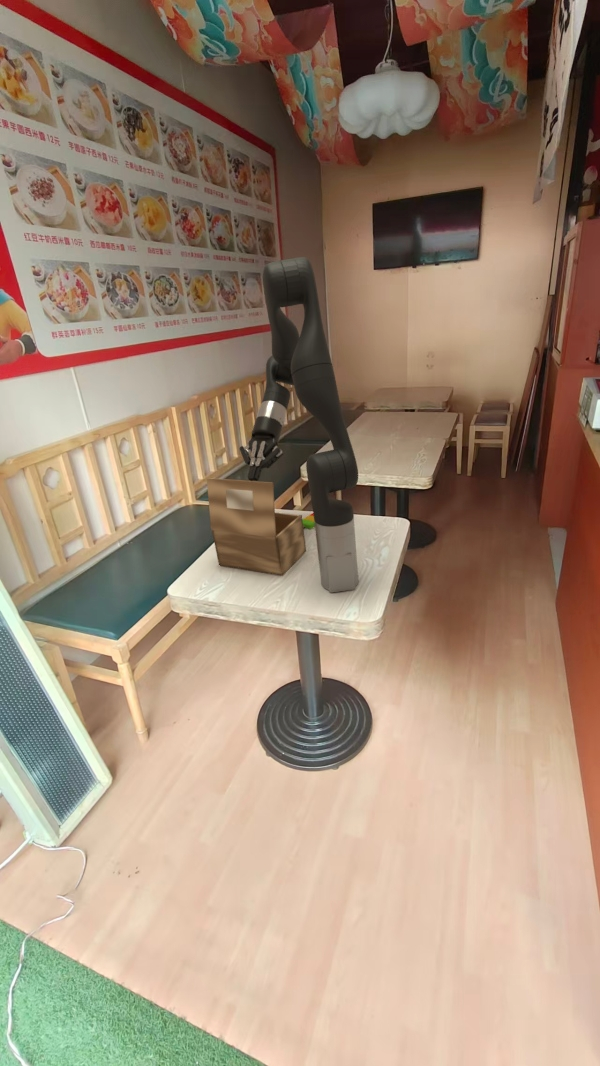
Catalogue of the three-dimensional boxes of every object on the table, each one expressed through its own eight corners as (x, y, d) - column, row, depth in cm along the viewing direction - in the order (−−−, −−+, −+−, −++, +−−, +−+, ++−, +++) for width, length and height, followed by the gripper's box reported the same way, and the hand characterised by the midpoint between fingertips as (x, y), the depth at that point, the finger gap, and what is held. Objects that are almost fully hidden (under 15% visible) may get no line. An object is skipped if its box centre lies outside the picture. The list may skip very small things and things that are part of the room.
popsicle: (329, 519, 163) (329, 513, 163) (298, 538, 154) (297, 532, 153) (316, 516, 167) (315, 510, 166) (285, 534, 157) (284, 528, 156)
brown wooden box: (246, 543, 154) (240, 509, 149) (306, 551, 145) (301, 515, 140) (219, 565, 143) (211, 529, 138) (282, 575, 134) (276, 537, 129)
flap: (207, 478, 134) (206, 478, 133) (273, 482, 125) (272, 483, 124) (212, 529, 138) (210, 529, 137) (276, 537, 129) (274, 537, 128)
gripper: (242, 415, 139) (224, 473, 134) (284, 415, 133) (267, 476, 128) (255, 429, 145) (238, 485, 141) (296, 429, 139) (280, 488, 135)
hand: (252, 481), depth 134 cm, fingers closed
